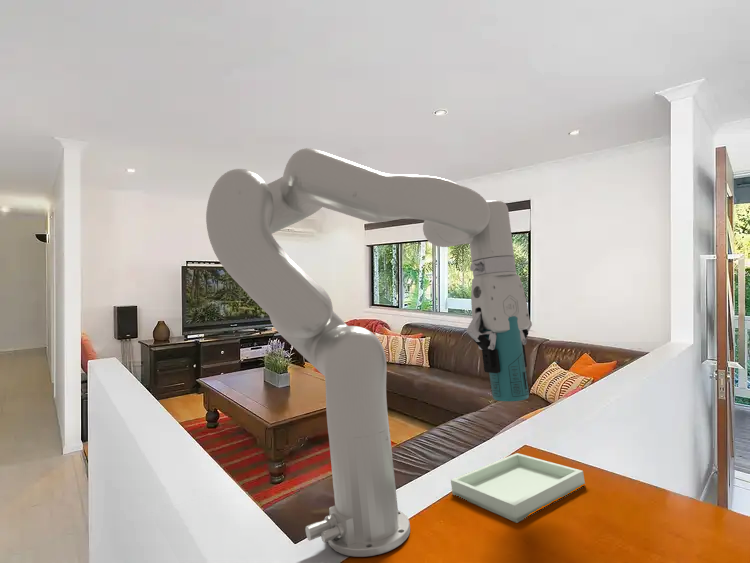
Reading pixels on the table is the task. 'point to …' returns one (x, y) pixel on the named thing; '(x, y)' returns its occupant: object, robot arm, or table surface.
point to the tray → (517, 485)
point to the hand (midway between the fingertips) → (505, 368)
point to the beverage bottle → (510, 366)
